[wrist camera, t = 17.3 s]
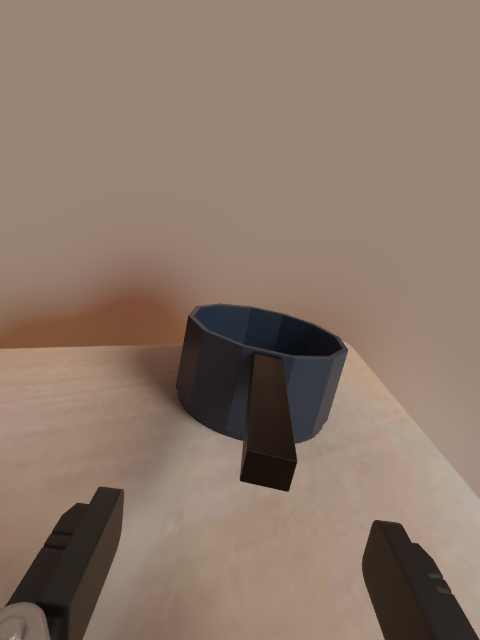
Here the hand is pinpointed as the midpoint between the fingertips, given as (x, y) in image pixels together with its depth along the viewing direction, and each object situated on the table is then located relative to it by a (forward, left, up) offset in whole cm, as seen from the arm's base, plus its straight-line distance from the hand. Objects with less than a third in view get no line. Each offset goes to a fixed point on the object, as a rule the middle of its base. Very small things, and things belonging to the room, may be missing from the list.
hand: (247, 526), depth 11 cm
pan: (+1, +18, -8) cm, 20 cm away
